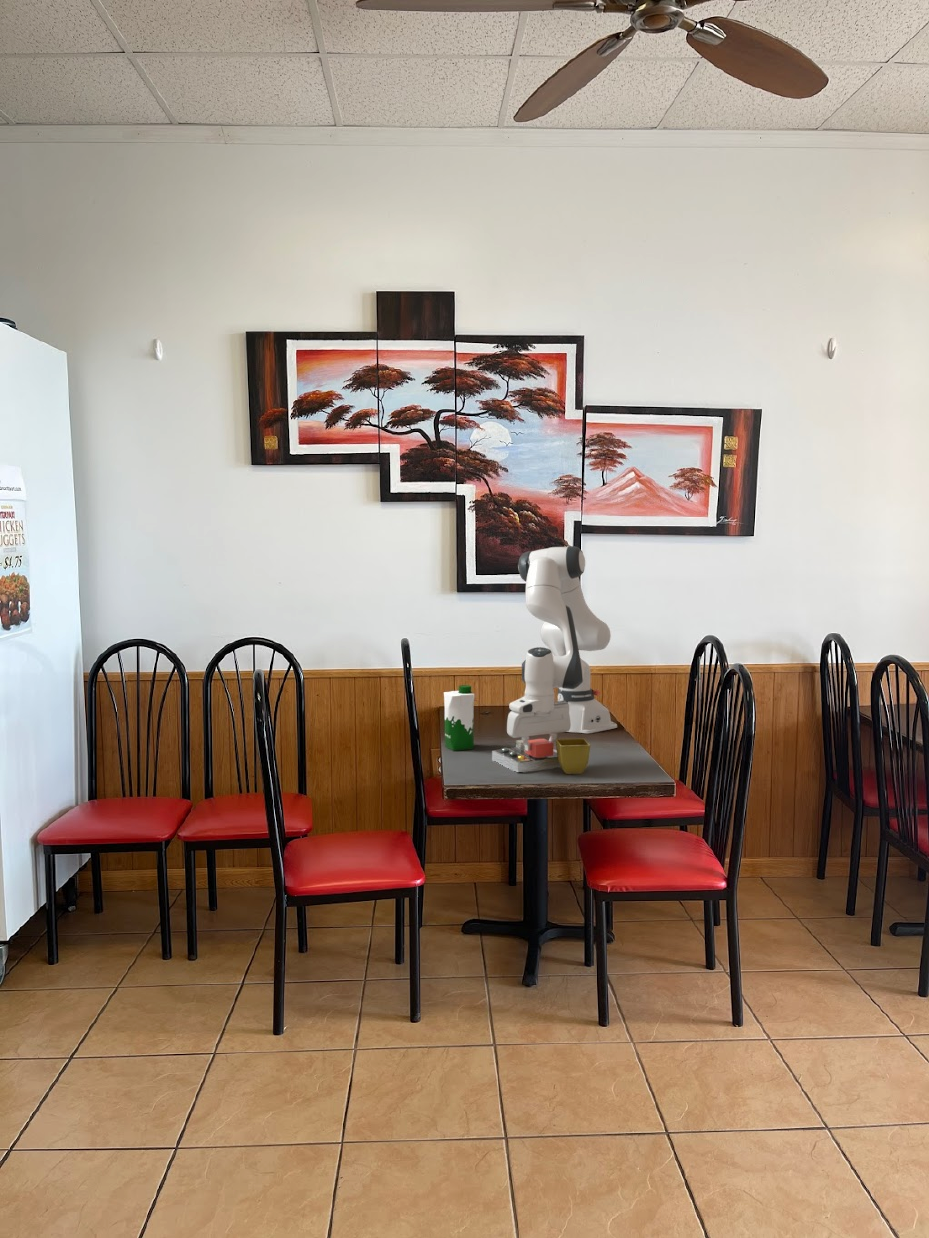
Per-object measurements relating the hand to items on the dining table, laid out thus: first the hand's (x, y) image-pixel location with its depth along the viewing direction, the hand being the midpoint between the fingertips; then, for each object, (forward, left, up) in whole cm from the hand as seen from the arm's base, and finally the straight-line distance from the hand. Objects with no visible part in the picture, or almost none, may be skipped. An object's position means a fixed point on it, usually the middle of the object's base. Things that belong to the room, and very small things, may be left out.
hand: (539, 748), depth 271 cm
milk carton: (+11, -32, -6) cm, 34 cm away
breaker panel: (0, -5, -6) cm, 7 cm away
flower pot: (-6, +9, -6) cm, 12 cm away
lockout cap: (0, 0, -2) cm, 2 cm away
